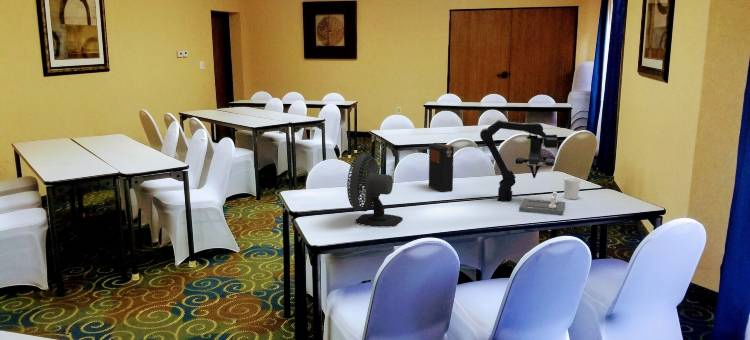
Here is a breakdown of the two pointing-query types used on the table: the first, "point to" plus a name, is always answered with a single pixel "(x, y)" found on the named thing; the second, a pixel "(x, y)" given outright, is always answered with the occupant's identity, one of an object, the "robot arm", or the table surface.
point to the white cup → (571, 188)
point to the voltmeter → (441, 166)
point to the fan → (369, 191)
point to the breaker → (552, 202)
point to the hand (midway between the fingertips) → (534, 177)
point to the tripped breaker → (555, 196)
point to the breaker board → (541, 207)
